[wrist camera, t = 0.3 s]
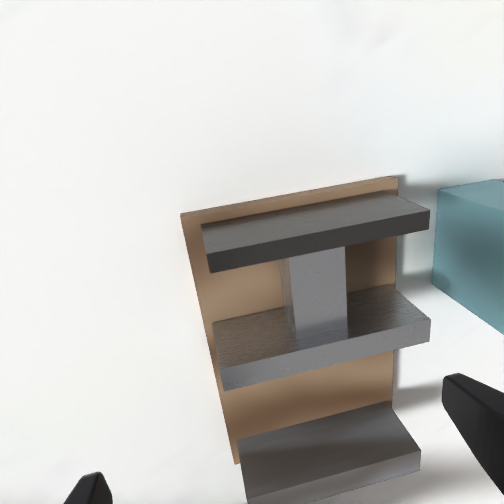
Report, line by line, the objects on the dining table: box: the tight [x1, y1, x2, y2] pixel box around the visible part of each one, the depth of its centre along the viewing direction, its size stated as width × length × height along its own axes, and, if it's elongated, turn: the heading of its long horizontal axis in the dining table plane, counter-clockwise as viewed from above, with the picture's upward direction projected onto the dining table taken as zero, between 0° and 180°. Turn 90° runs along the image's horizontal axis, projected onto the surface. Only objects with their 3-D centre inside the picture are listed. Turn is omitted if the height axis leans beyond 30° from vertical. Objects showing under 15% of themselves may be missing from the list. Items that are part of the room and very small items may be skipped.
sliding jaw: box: [200, 190, 431, 392], centre depth 21 cm, size 8×12×4 cm, turn 98°
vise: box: [180, 176, 421, 504], centre depth 23 cm, size 20×13×6 cm, turn 8°
